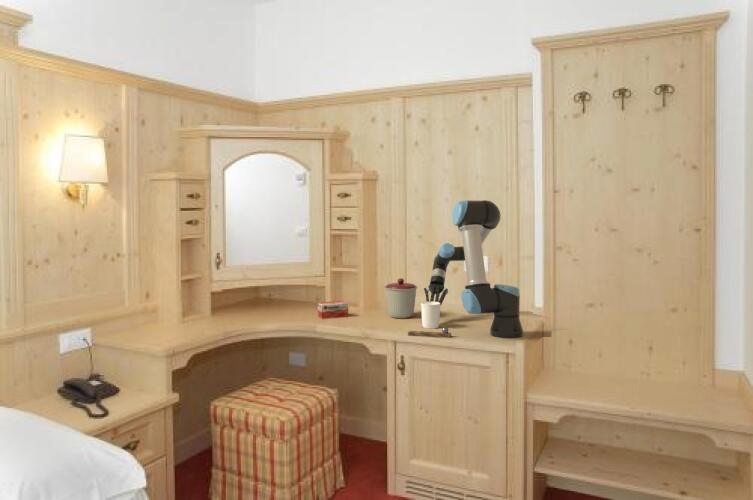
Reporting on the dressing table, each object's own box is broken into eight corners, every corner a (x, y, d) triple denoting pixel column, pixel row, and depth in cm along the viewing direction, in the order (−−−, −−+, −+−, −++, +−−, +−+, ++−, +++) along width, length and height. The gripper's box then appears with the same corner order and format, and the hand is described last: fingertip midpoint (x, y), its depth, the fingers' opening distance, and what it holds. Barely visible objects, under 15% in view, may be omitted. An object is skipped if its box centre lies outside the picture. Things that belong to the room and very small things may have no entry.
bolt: (448, 332, 291) (448, 327, 291) (447, 334, 289) (447, 328, 289) (442, 332, 292) (442, 327, 292) (441, 333, 290) (441, 328, 289)
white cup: (423, 329, 308) (423, 305, 307) (418, 325, 317) (418, 302, 316) (443, 328, 310) (442, 304, 309) (437, 324, 319) (437, 301, 318)
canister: (423, 318, 336) (423, 279, 335) (392, 321, 330) (391, 281, 328) (409, 312, 353) (408, 275, 351) (379, 315, 346) (379, 277, 345)
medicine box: (322, 319, 337) (321, 304, 337) (317, 316, 345) (317, 302, 344) (348, 317, 343) (348, 302, 342) (343, 314, 350) (343, 300, 350)
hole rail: (451, 336, 292) (451, 332, 291) (449, 337, 288) (449, 334, 288) (409, 334, 297) (409, 330, 297) (408, 335, 294) (408, 332, 294)
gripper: (450, 283, 334) (445, 320, 319) (426, 283, 338) (420, 319, 323) (449, 275, 329) (443, 312, 314) (424, 274, 332) (418, 311, 318)
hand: (431, 315), depth 318 cm, fingers closed
